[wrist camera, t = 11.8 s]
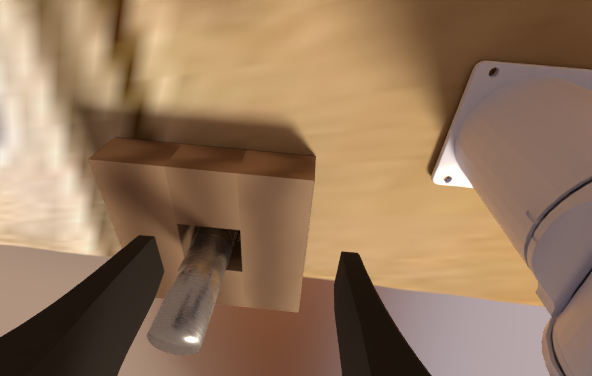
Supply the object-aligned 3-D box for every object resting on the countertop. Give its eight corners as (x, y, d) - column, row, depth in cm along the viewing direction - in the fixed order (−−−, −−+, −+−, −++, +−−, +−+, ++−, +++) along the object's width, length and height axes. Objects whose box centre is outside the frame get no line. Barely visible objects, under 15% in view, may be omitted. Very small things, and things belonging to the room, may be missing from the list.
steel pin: (239, 209, 24) (197, 330, 16) (240, 236, 26) (203, 357, 18) (202, 205, 24) (141, 324, 16) (206, 233, 26) (153, 352, 18)
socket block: (315, 156, 21) (314, 180, 18) (300, 283, 29) (298, 312, 27) (114, 137, 21) (87, 159, 19) (155, 269, 29) (140, 296, 27)
